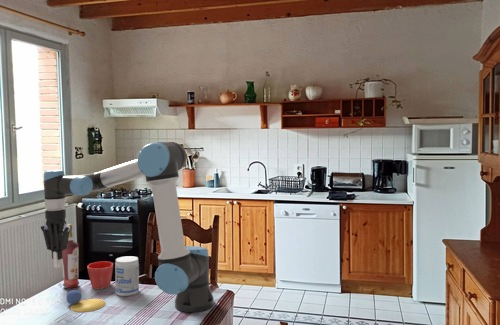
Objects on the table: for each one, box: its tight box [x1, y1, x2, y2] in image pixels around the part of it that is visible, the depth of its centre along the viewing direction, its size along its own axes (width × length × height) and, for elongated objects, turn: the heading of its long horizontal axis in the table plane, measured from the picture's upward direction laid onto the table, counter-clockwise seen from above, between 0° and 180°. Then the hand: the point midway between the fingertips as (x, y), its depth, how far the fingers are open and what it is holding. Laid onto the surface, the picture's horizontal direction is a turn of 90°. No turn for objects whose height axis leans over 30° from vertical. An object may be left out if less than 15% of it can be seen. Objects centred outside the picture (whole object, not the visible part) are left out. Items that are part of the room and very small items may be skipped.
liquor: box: [61, 223, 80, 290], centre depth 194 cm, size 7×7×28 cm
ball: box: [66, 289, 82, 305], centre depth 175 cm, size 6×6×6 cm
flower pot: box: [86, 260, 114, 290], centre depth 195 cm, size 11×11×10 cm
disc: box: [70, 298, 107, 313], centre depth 173 cm, size 13×13×1 cm
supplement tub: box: [114, 255, 140, 297], centre depth 186 cm, size 10×10×15 cm
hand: (57, 267), depth 176 cm, fingers closed
